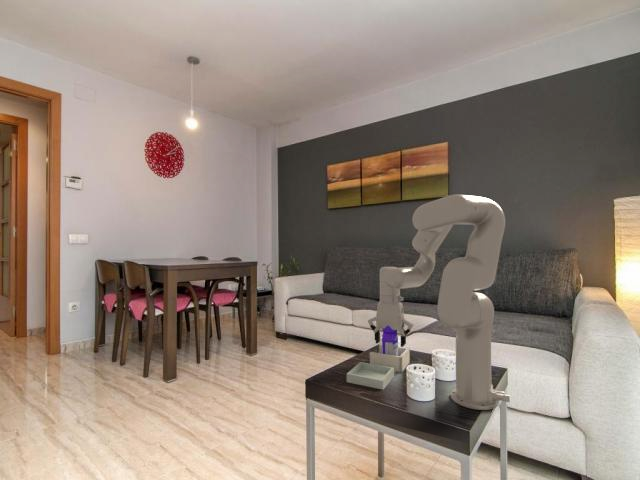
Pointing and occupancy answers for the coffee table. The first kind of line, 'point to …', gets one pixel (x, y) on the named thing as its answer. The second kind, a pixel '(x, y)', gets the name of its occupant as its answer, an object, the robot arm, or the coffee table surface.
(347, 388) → the coffee table surface
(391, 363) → the box
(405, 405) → the coffee table surface
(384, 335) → the bottle
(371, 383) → the tray
